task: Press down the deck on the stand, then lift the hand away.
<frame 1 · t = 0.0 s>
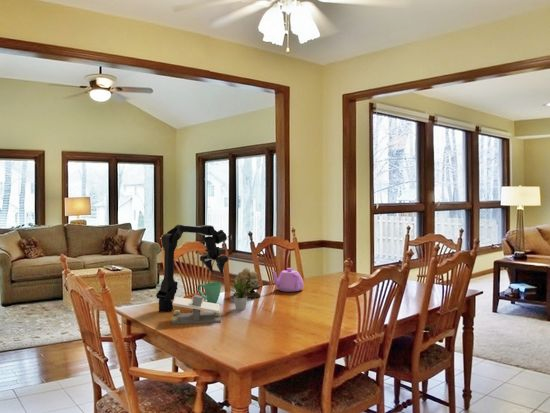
hand: (216, 272, 273), 15 cm above the table, tool pointing down, fingers open, 9 cm apart
stand: (196, 319, 231), on the table
deck: (197, 300, 231), point 9 cm above the table, hinge at 12.0°
mug: (209, 301, 269), on the table
bushy plant: (247, 296, 281), on the table
house plant: (241, 309, 250), on the table
teapot: (286, 290, 297), on the table
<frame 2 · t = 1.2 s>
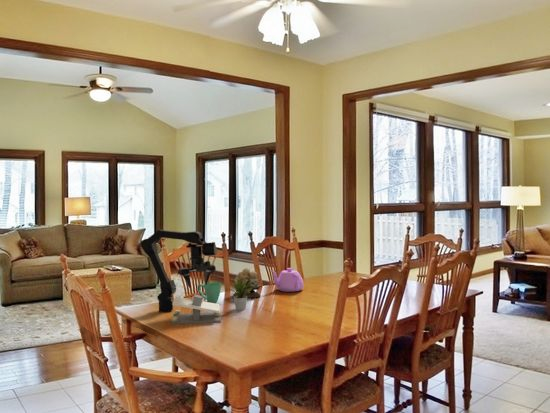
hand: (197, 286, 246), 13 cm above the table, tool pointing down, fingers open, 9 cm apart
nothing on the table moved.
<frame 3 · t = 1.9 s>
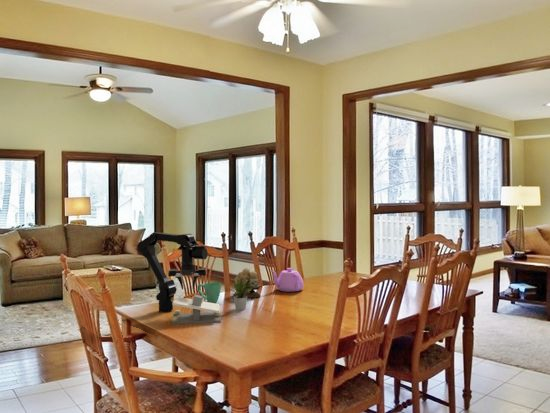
hand: (187, 289, 243), 12 cm above the table, tool pointing down, fingers open, 5 cm apart
nothing on the table moved.
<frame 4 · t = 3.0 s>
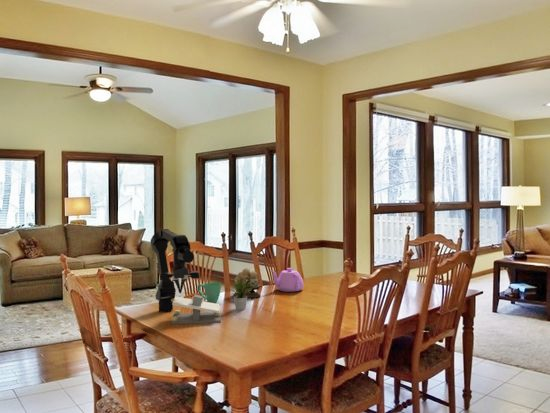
hand: (180, 293, 233), 12 cm above the table, tool pointing down, fingers closed
nothing on the table moved.
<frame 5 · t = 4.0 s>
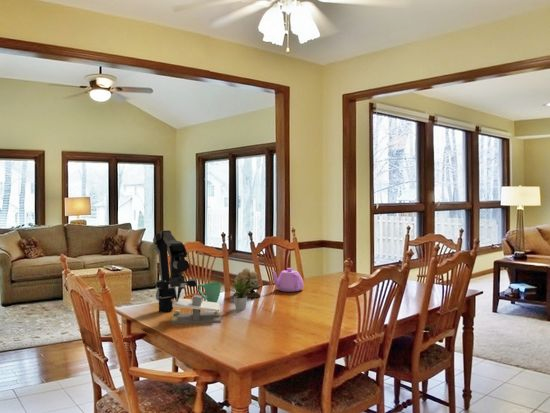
hand: (177, 301, 230), 9 cm above the table, tool pointing down, fingers closed, pressing on deck
deck: (197, 300, 231), point 9 cm above the table, hinge at 8.8°, touching gripper
everything else where it was.
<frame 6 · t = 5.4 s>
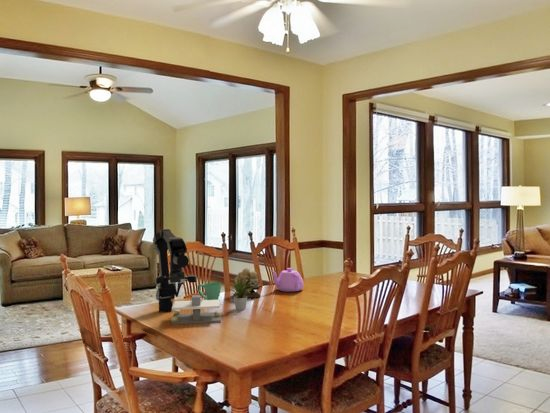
hand: (176, 296, 230), 11 cm above the table, tool pointing down, fingers closed
deck: (196, 300, 231), point 9 cm above the table, hinge at -0.1°
everything else where it was.
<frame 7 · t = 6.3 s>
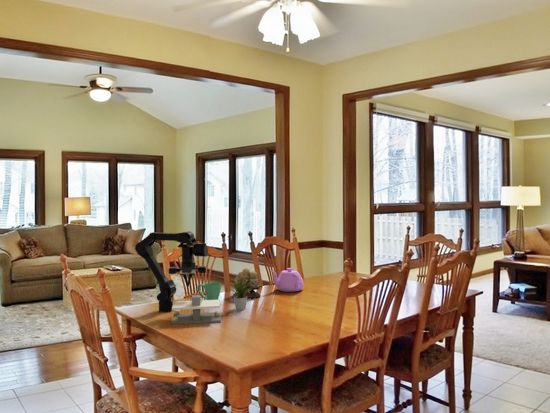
hand: (188, 286, 245), 13 cm above the table, tool pointing down, fingers closed
nothing on the table moved.
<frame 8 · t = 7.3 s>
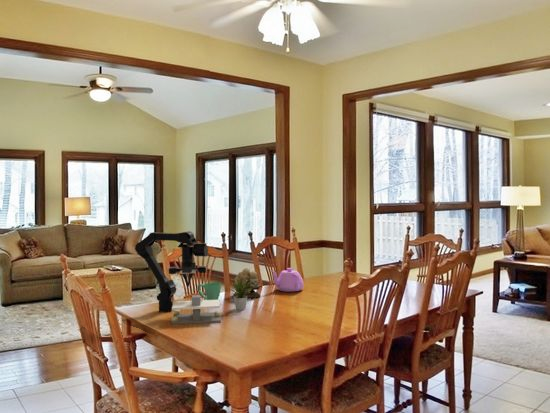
hand: (188, 286, 245), 13 cm above the table, tool pointing down, fingers closed
nothing on the table moved.
at the end: deck at +0° (first picture: +12°); deck tilted 0° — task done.
